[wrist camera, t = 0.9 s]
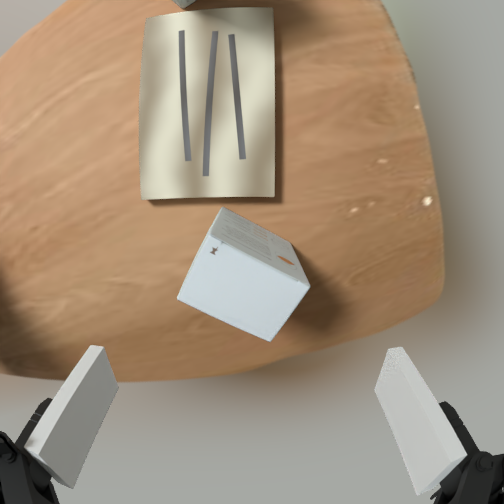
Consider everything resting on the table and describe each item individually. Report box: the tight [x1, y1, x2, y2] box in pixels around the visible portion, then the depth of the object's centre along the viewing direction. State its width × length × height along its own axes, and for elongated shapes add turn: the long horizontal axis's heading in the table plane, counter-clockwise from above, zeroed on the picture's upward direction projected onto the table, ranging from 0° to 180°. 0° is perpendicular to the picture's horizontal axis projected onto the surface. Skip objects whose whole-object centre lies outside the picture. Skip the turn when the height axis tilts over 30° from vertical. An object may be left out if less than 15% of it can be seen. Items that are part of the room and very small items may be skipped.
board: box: [139, 7, 275, 200], centre depth 24 cm, size 13×20×1 cm, turn 0°
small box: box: [177, 207, 310, 342], centre depth 24 cm, size 8×6×10 cm
